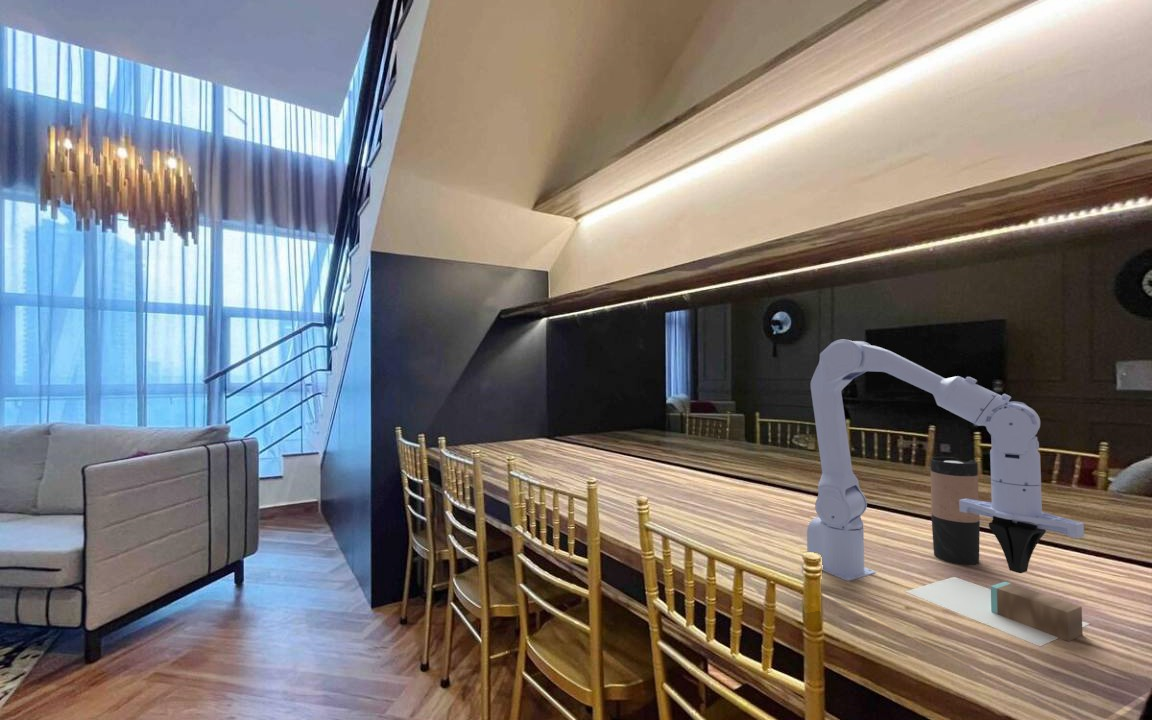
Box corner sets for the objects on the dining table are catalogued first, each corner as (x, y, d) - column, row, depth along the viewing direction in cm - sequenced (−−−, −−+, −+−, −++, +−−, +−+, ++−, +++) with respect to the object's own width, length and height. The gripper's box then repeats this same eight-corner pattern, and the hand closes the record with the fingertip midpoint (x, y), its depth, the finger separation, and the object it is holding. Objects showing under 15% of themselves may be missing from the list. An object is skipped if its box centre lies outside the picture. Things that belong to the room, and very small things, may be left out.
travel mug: (939, 564, 94) (936, 462, 95) (927, 551, 101) (924, 455, 102) (987, 570, 92) (984, 464, 92) (971, 555, 99) (969, 458, 99)
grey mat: (905, 593, 82) (904, 591, 82) (954, 578, 88) (954, 576, 88) (1040, 649, 66) (1040, 646, 66) (1089, 626, 71) (1089, 623, 71)
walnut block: (990, 586, 75) (1067, 612, 67) (1004, 581, 77) (1081, 606, 69) (991, 612, 75) (1068, 641, 67) (1005, 606, 77) (1082, 634, 69)
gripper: (947, 475, 79) (949, 558, 79) (1064, 495, 66) (1068, 595, 65) (972, 471, 82) (974, 551, 82) (1089, 489, 69) (1093, 586, 68)
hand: (1018, 570), depth 74 cm, fingers closed
